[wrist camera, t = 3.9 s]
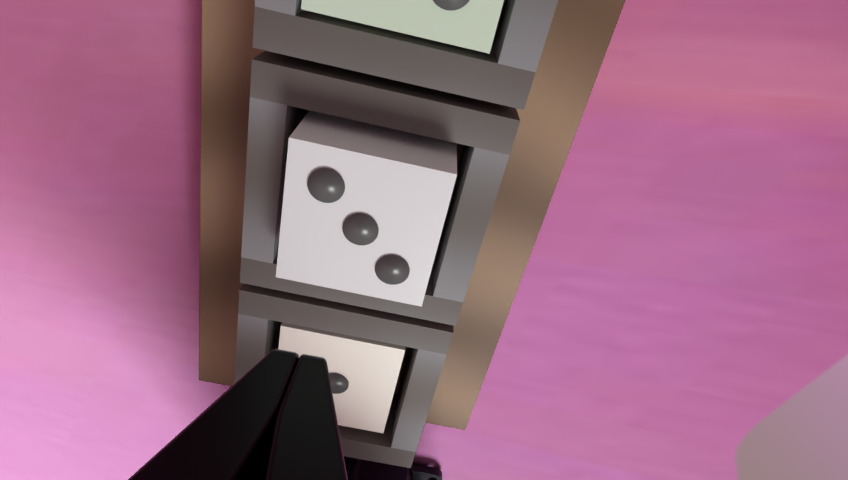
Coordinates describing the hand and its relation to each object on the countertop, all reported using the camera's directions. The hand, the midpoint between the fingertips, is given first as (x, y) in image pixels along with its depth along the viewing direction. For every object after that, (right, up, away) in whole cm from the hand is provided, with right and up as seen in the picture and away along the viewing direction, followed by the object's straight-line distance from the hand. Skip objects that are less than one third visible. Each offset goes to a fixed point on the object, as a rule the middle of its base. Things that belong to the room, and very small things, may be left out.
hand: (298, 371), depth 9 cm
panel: (+1, +5, +12) cm, 13 cm away
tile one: (-1, -2, +14) cm, 14 cm away
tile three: (0, +4, +9) cm, 9 cm away
